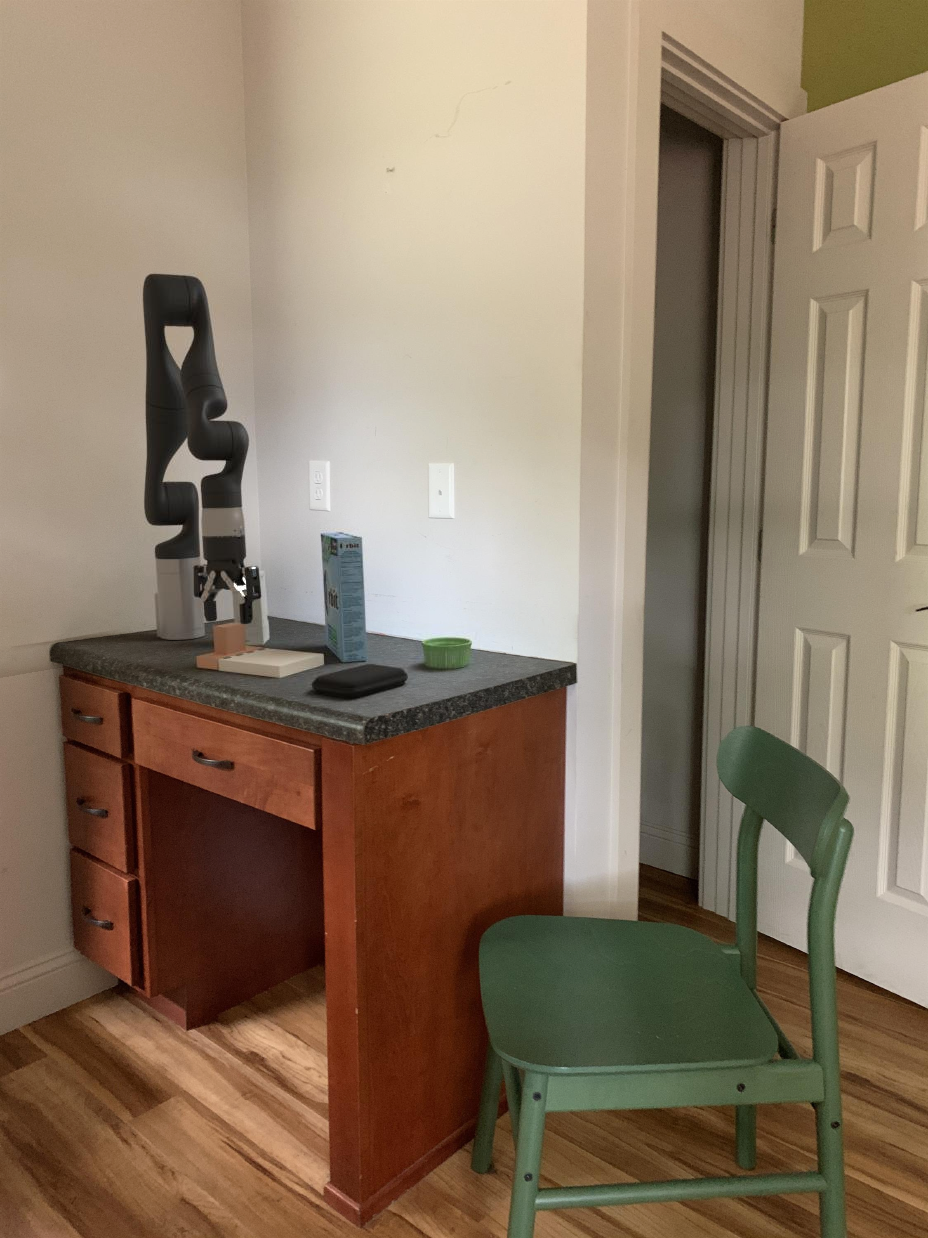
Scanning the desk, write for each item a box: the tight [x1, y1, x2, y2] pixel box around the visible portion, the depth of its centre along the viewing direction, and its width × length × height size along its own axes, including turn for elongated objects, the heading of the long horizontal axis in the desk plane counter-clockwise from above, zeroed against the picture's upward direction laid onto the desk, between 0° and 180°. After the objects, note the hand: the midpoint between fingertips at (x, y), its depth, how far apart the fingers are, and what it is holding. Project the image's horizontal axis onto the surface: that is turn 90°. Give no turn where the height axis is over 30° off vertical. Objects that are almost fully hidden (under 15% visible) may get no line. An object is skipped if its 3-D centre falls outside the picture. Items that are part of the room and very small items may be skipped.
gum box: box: [320, 531, 368, 663], centre depth 173 cm, size 20×5×23 cm, turn 17°
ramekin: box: [421, 636, 473, 670], centre depth 162 cm, size 9×9×4 cm
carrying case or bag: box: [310, 663, 409, 700], centre depth 145 cm, size 11×3×15 cm
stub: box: [195, 622, 264, 671], centre depth 166 cm, size 5×12×7 cm, turn 151°
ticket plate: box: [218, 647, 325, 679], centre depth 162 cm, size 14×12×2 cm
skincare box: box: [231, 570, 270, 647], centre depth 187 cm, size 8×6×15 cm
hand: (228, 622), depth 165 cm, fingers open, 8 cm apart
